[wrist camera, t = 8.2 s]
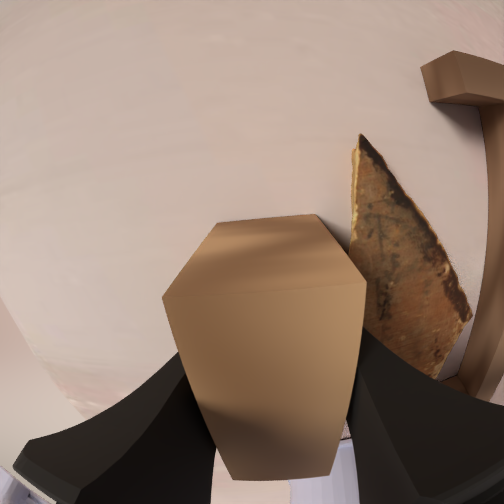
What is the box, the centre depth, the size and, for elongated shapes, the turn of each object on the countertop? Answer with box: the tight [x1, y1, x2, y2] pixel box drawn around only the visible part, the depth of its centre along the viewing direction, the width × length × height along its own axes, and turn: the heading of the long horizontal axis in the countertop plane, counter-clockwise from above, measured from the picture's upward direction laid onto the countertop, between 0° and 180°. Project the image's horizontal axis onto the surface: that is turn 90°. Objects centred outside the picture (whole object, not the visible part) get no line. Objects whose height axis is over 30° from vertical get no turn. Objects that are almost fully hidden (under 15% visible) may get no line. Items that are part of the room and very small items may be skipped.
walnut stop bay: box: [420, 50, 504, 402], centre depth 8 cm, size 18×5×2 cm, turn 12°
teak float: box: [162, 214, 367, 481], centre depth 8 cm, size 4×8×6 cm, turn 6°
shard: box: [348, 134, 473, 379], centre depth 10 cm, size 11×8×2 cm
